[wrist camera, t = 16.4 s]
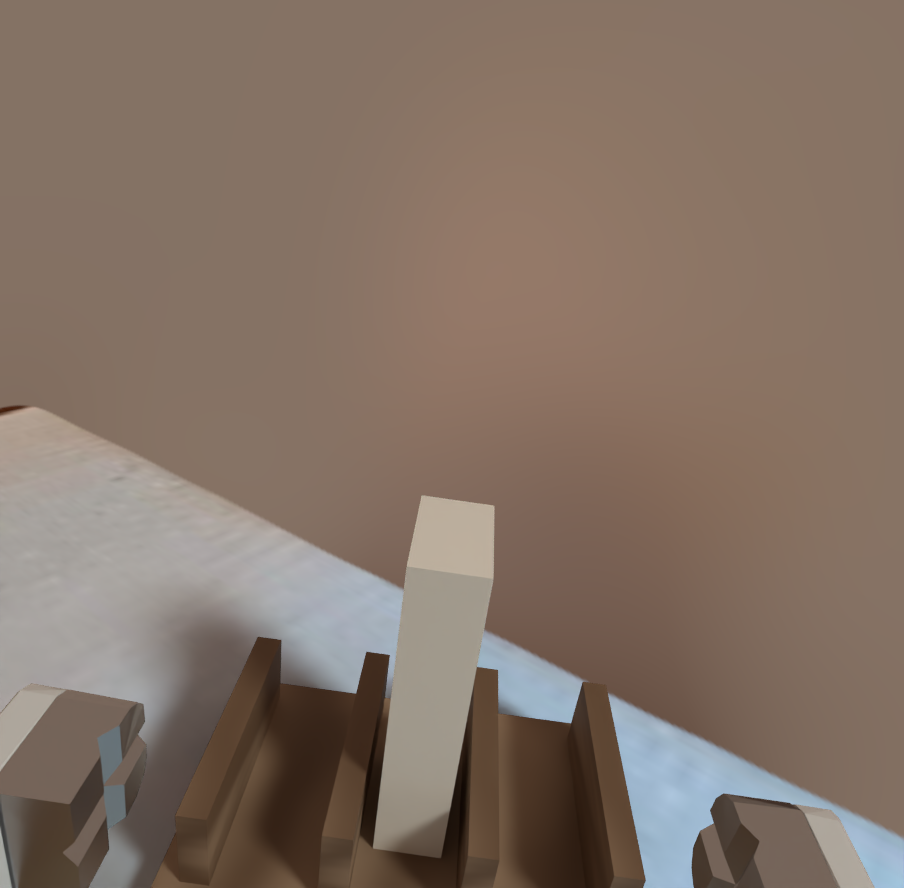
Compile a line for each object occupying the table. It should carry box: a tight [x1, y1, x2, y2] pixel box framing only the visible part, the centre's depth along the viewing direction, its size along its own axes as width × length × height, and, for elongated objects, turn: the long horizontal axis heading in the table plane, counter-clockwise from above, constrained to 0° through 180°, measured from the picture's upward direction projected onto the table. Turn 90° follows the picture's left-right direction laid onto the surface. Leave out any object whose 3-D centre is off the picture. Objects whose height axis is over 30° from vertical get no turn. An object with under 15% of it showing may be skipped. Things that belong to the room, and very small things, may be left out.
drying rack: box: [151, 637, 646, 888], centre depth 31 cm, size 20×12×6 cm, turn 87°
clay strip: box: [373, 496, 494, 858], centre depth 29 cm, size 3×5×15 cm, turn 176°
